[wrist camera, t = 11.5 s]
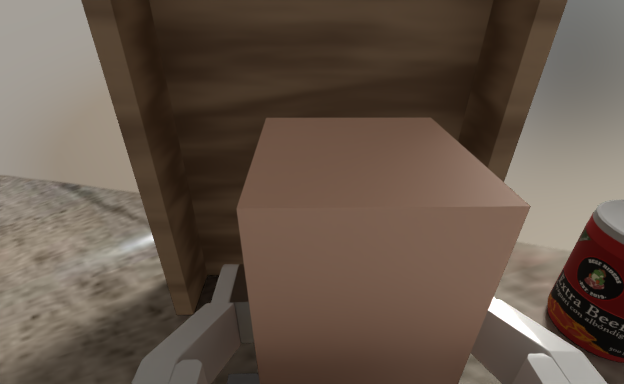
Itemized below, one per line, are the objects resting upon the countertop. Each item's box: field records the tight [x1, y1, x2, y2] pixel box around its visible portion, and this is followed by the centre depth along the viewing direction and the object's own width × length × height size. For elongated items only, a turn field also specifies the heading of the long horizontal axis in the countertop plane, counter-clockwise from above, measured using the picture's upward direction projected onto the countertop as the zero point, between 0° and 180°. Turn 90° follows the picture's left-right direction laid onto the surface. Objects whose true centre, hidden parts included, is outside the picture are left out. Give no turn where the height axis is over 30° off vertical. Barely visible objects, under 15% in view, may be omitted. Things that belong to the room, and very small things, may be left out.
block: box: [237, 118, 530, 384], centre depth 11 cm, size 5×5×12 cm
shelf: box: [82, 0, 567, 315], centre depth 21 cm, size 13×26×38 cm, turn 91°
